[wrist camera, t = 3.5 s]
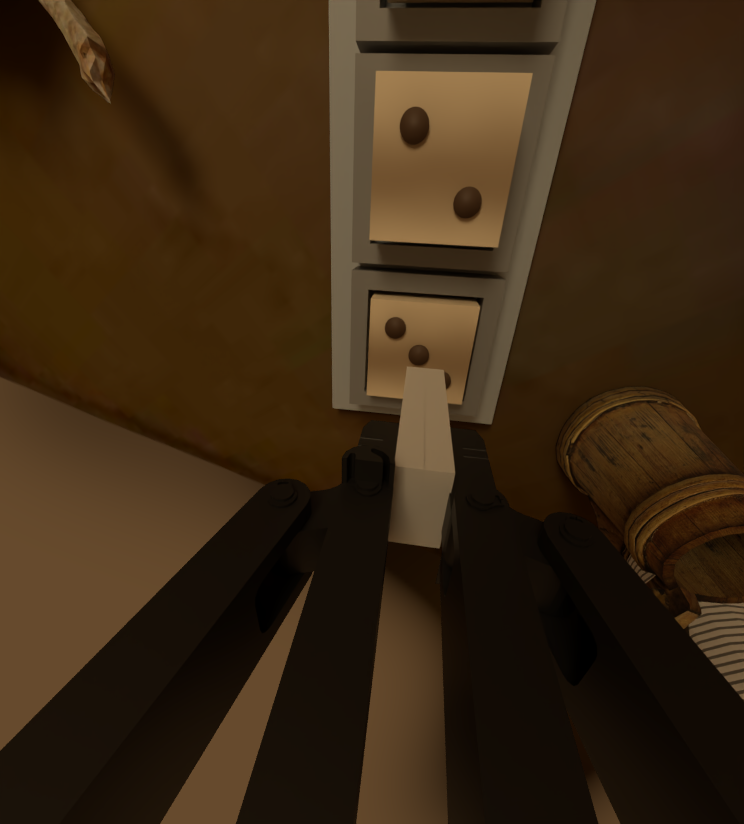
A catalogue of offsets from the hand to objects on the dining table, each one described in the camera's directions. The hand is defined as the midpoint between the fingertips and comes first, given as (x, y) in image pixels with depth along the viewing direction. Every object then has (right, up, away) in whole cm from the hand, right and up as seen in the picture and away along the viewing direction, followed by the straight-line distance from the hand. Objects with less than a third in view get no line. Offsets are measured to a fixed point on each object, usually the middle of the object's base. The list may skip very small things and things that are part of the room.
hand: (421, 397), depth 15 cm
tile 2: (+1, +11, +3) cm, 12 cm away
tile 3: (+1, +4, +8) cm, 10 cm away
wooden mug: (+16, -4, +13) cm, 21 cm away
